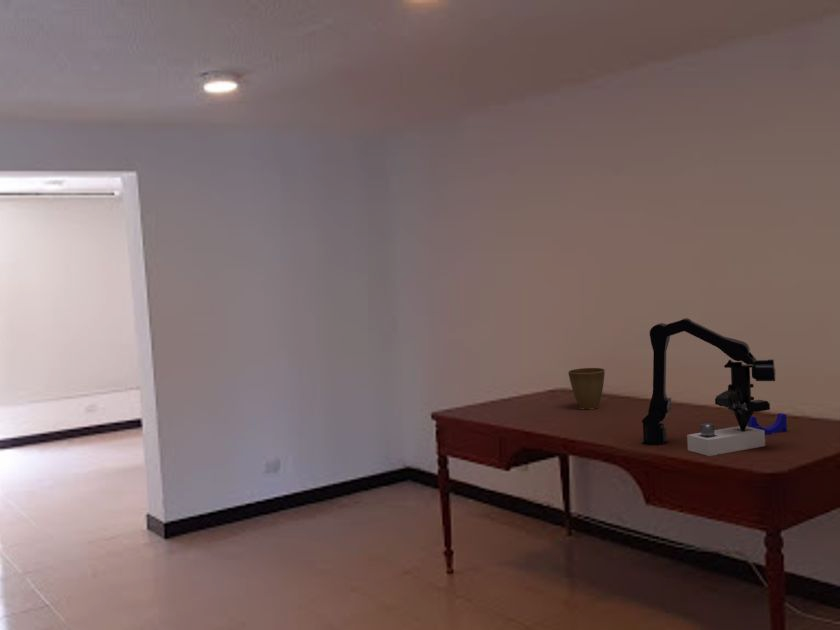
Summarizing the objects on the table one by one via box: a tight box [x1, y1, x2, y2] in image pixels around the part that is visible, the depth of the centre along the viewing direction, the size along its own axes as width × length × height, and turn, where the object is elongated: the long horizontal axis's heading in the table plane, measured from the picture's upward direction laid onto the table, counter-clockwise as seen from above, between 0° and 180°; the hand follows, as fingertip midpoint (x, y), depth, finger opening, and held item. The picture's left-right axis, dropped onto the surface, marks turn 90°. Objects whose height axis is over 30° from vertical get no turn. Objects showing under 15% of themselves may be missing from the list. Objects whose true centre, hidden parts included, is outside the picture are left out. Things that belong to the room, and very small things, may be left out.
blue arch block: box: [747, 412, 788, 436], centre depth 290 cm, size 12×4×6 cm, turn 93°
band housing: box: [686, 425, 766, 457], centre depth 273 cm, size 10×22×5 cm, turn 112°
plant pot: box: [567, 367, 606, 409], centre depth 357 cm, size 15×15×16 cm
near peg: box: [700, 423, 715, 438], centre depth 270 cm, size 4×4×5 cm
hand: (742, 429), depth 275 cm, fingers closed, pressing on far peg
